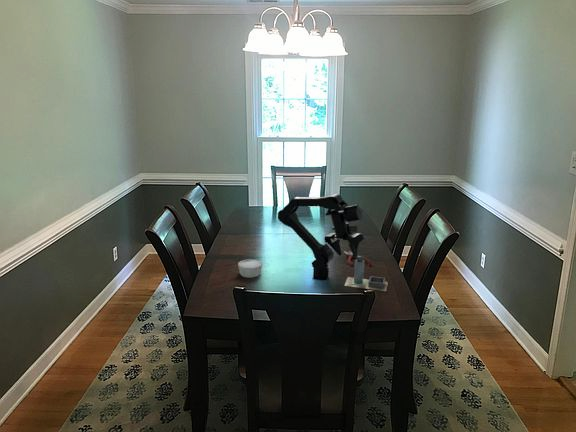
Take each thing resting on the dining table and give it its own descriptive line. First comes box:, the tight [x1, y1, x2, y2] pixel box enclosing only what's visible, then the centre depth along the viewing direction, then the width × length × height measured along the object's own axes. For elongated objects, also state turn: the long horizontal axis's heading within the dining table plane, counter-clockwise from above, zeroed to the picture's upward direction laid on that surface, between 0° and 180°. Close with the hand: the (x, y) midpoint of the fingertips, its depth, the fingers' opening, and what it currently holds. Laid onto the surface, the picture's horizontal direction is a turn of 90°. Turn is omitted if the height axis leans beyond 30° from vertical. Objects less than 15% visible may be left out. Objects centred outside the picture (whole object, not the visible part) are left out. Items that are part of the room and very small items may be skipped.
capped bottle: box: [353, 255, 365, 284], centre depth 202 cm, size 4×4×12 cm
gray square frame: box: [368, 275, 386, 289], centre depth 201 cm, size 7×7×2 cm
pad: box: [351, 279, 365, 286], centre depth 204 cm, size 6×6×1 cm
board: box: [344, 276, 389, 292], centre depth 203 cm, size 18×10×1 cm, turn 74°
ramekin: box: [237, 259, 263, 279], centre depth 212 cm, size 11×11×5 cm
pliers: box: [343, 250, 372, 267], centre depth 233 cm, size 12×20×3 cm, turn 15°
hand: (348, 256), depth 202 cm, fingers open, 9 cm apart
